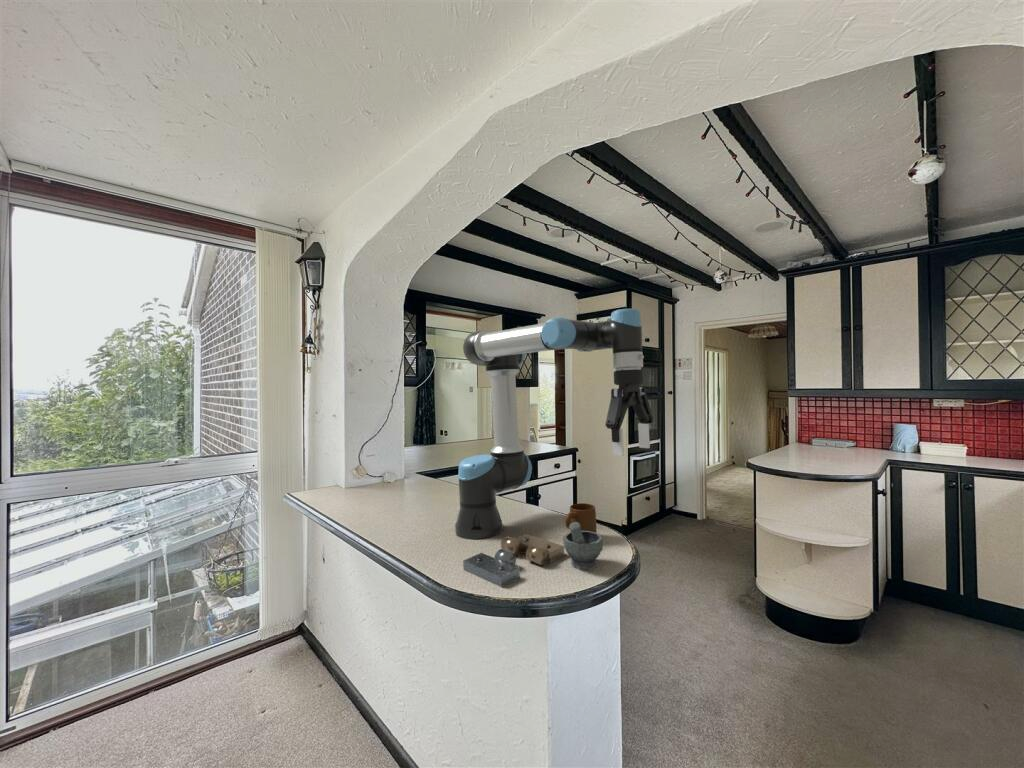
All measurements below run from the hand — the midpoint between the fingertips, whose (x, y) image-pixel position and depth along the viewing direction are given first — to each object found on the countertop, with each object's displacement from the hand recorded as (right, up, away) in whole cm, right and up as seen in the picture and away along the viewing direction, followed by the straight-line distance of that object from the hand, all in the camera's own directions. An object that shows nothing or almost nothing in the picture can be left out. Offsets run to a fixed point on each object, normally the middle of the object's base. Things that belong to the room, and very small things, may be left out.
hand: (631, 451), depth 106 cm
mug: (-11, -29, +13) cm, 33 cm away
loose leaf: (-35, -29, -4) cm, 46 cm away
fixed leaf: (-26, -29, +5) cm, 39 cm away
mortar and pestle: (-13, -28, -3) cm, 31 cm away
